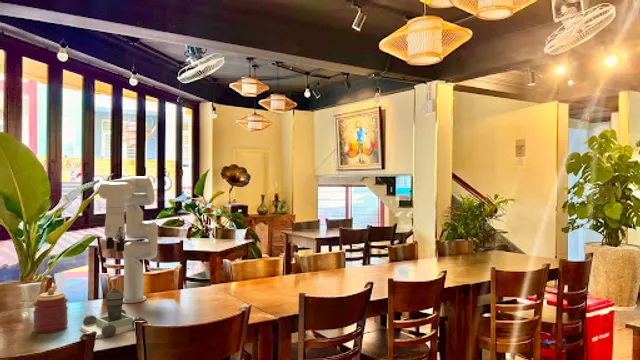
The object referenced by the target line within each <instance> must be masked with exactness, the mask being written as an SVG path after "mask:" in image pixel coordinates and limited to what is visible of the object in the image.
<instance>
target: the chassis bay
mask: <svg viewBox="0 0 640 360" xmlns="http://www.w3.org/2000/svg"><path fill="white" fill-rule="evenodd" d="M135 321H146V319H145V318H143V317H140V316H136V317H135V316H133V315H128V314H127V312H126V311H125V310H124V309H122V312H121V320H116V321H112V322H108V314H107V315H104V316H99V317H96V316H95V315H93V314H89V315H86V316H85V317H84V318H83V321H82V323H83V325H81V326H80V331H81V332H83V333H85V334H87V333H86V332H92V331H96V332H97V337H96V338H98V339H101V337H102V338H109V337H110V338H112V337H114V336H115V335H117V334H121V333H125V332H129V331H133V330H135V329H134V322H135ZM128 330H129V331H128Z"/></svg>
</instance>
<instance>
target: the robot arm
mask: <svg viewBox="0 0 640 360" xmlns="http://www.w3.org/2000/svg"><path fill="white" fill-rule="evenodd" d="M97 191H98V196H99V197H100V198H101V199H102V200H103V199H104V200H105V219H104V221H105V222H104V236H105V241H106V243H105V245H106V246H105V247H106V248H105V249H106V250H113V249H114V248H115V247H116V249H115V251H116V252H117V253H119V252H122V257H123V291H122V293H123V297H124V298H123V302H122V304H123V303H124V304H134V303H135V304H136V303H140V302H144V301H146V300H147V296H145V295H144V266H143V264H142V262H141V261H140V260H152V259H155V258H157V255H158V232H159V231H158V224H157V223H156V222H155V221H151V220H145V221H144V210H142V208H141V207H140V206H151V205H153V204H154V203H155V199H156V197H155V191H154V185H153V183H152V180H151V178H150V177H148V176H126V177H124V178H119V179H112V180H105V181H102V182H100V184H99V186H98V190H97ZM125 218H126V219H125ZM126 237H127V238H128V239H131V240H136V241H128V242H125V240H126ZM114 238H115V239H116V243H115V239H114ZM137 240H139V241H137ZM140 240H145V241H140ZM146 240H147V241H146ZM115 245H116V246H115Z"/></svg>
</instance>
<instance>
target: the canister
mask: <svg viewBox="0 0 640 360" xmlns="http://www.w3.org/2000/svg"><path fill="white" fill-rule="evenodd" d="M66 296H67V295H66V293H63V292H62V291H55V289H54V288H52V287H51V288H49V289H48V290H47V292H43V293H40V294H39V295H37V296H36V297H35V302H33V303H32V305H33V306H34V310H33V311H32V313H33V324H32V329H33V333H36V334H50V333H51V334H52V333H57V332H61V331H63V330H66V328H67V327H68V309H69V307H68V304H67V303H68V301H69V299H68V298H66Z"/></svg>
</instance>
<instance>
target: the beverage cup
mask: <svg viewBox="0 0 640 360" xmlns="http://www.w3.org/2000/svg"><path fill="white" fill-rule="evenodd" d="M115 285H116V286H115V288H112V289H110V290H109V291H108V292H107V294H106V296H105V301H106V306H107V307H106V308H107V309H106V310H107V315H108V322H112V321H116V320H121V312H122V310H123V298H124V294H123V291H122V290H121V289H119V288H118V285H119V278H117V279H116V283H115Z"/></svg>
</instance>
